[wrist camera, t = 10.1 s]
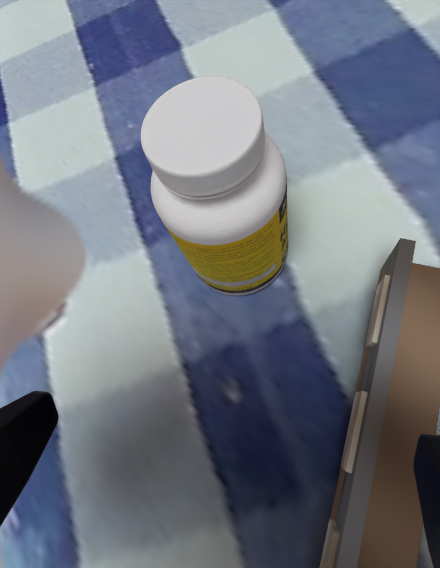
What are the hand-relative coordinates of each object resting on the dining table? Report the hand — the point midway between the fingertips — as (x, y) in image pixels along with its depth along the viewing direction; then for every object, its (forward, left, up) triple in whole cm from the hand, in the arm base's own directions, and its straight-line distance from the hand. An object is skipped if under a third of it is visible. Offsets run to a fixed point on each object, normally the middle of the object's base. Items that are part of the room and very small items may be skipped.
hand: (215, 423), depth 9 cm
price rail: (+1, -6, -9) cm, 11 cm away
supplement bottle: (+8, +3, -9) cm, 13 cm away
